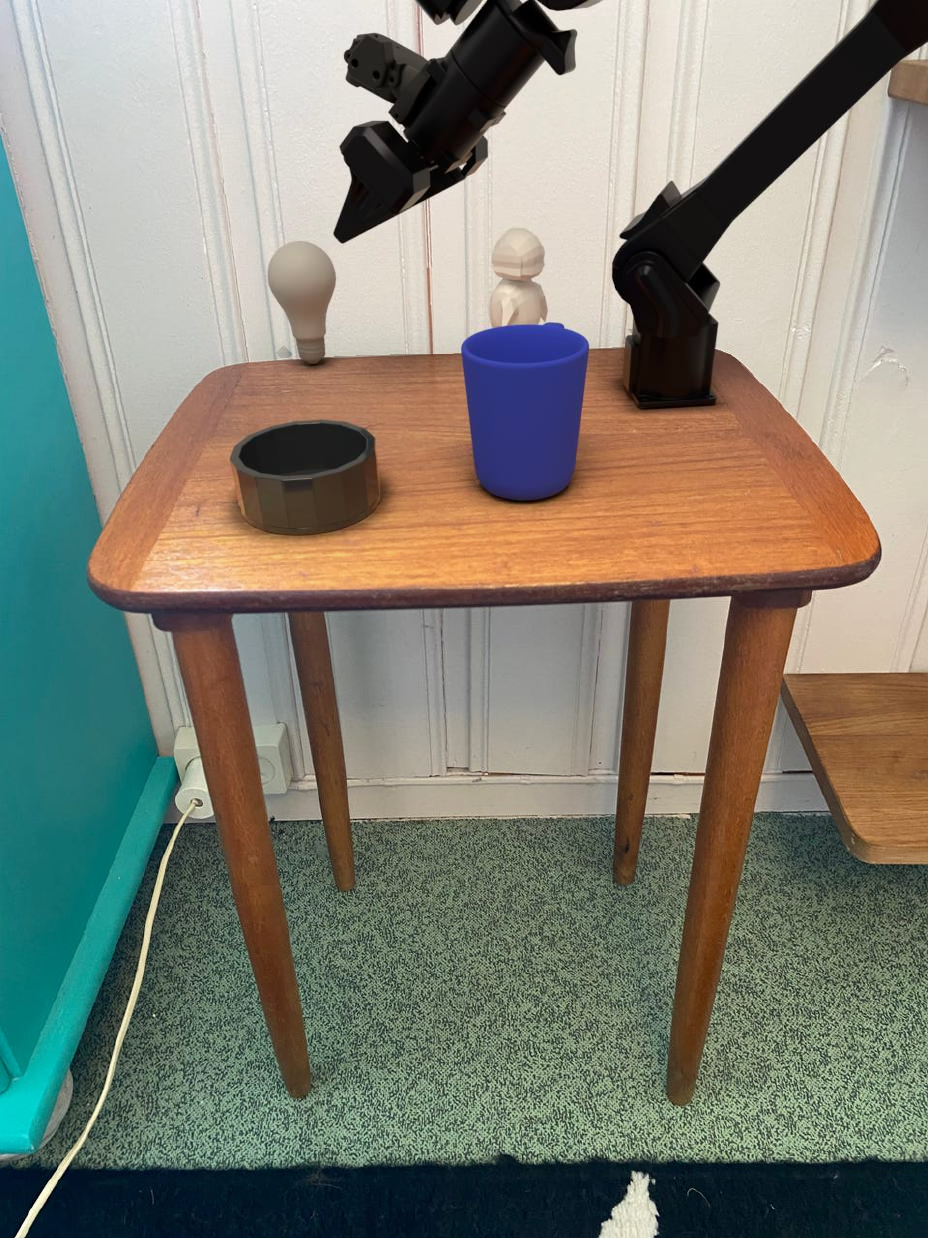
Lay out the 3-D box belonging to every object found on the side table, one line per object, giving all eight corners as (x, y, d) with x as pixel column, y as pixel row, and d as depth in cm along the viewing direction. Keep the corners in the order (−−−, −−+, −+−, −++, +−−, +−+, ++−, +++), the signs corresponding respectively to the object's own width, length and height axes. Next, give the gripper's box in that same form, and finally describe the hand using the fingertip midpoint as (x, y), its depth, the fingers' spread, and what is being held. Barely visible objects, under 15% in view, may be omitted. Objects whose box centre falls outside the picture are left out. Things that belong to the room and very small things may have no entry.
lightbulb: (351, 352, 89) (338, 233, 83) (337, 374, 84) (323, 249, 78) (290, 352, 90) (272, 234, 84) (273, 374, 85) (253, 250, 79)
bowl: (381, 467, 67) (376, 415, 65) (379, 530, 59) (373, 474, 57) (250, 475, 67) (241, 423, 65) (231, 539, 59) (220, 483, 57)
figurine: (514, 383, 80) (513, 239, 74) (470, 375, 83) (466, 234, 76) (559, 357, 86) (562, 220, 79) (517, 349, 88) (516, 216, 81)
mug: (605, 445, 69) (613, 311, 63) (567, 518, 60) (572, 369, 54) (502, 434, 71) (500, 304, 66) (450, 503, 62) (442, 358, 56)
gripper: (448, -15, 74) (340, 136, 84) (351, -12, 60) (234, 170, 69) (540, 96, 76) (425, 231, 86) (468, 124, 62) (339, 283, 72)
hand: (361, 226), depth 78 cm, fingers open, 9 cm apart
